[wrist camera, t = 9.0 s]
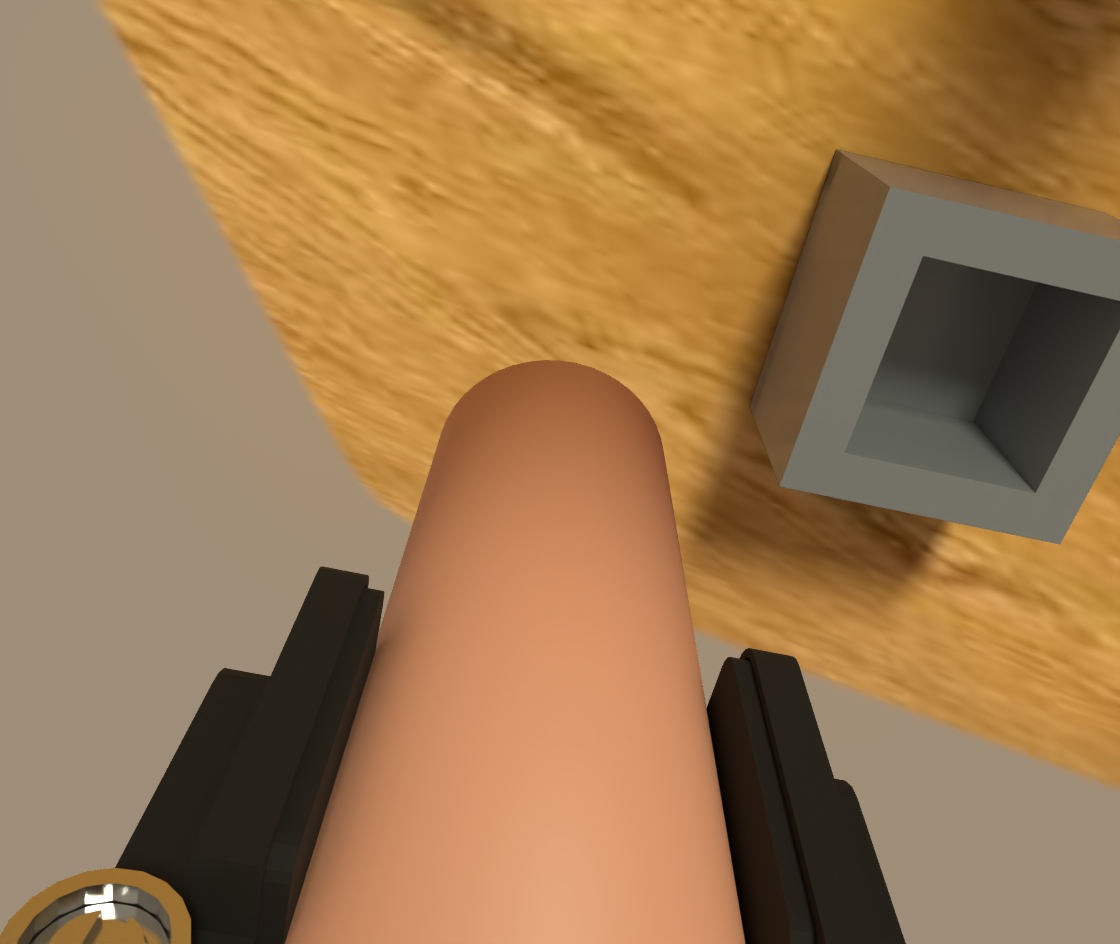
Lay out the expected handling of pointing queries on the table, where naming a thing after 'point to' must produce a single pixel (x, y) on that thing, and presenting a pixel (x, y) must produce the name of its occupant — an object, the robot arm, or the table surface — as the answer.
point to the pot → (946, 351)
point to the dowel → (532, 698)
